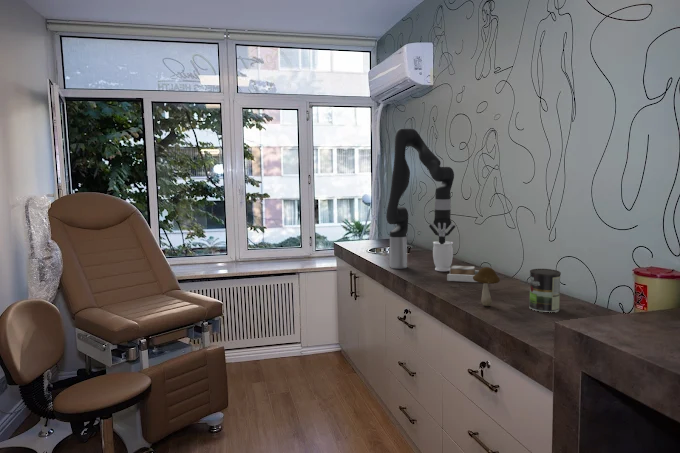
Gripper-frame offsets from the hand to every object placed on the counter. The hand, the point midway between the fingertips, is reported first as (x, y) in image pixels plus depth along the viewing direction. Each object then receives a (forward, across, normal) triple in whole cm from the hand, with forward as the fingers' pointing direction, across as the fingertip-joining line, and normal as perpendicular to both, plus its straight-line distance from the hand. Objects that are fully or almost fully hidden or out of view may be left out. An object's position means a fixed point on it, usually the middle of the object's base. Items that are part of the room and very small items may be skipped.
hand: (442, 243), depth 222 cm
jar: (+17, -1, +18) cm, 25 cm away
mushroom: (+16, +22, -46) cm, 53 cm away
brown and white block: (+17, +10, +1) cm, 19 cm away
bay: (+16, +11, -1) cm, 20 cm away
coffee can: (+15, +42, -45) cm, 64 cm away
